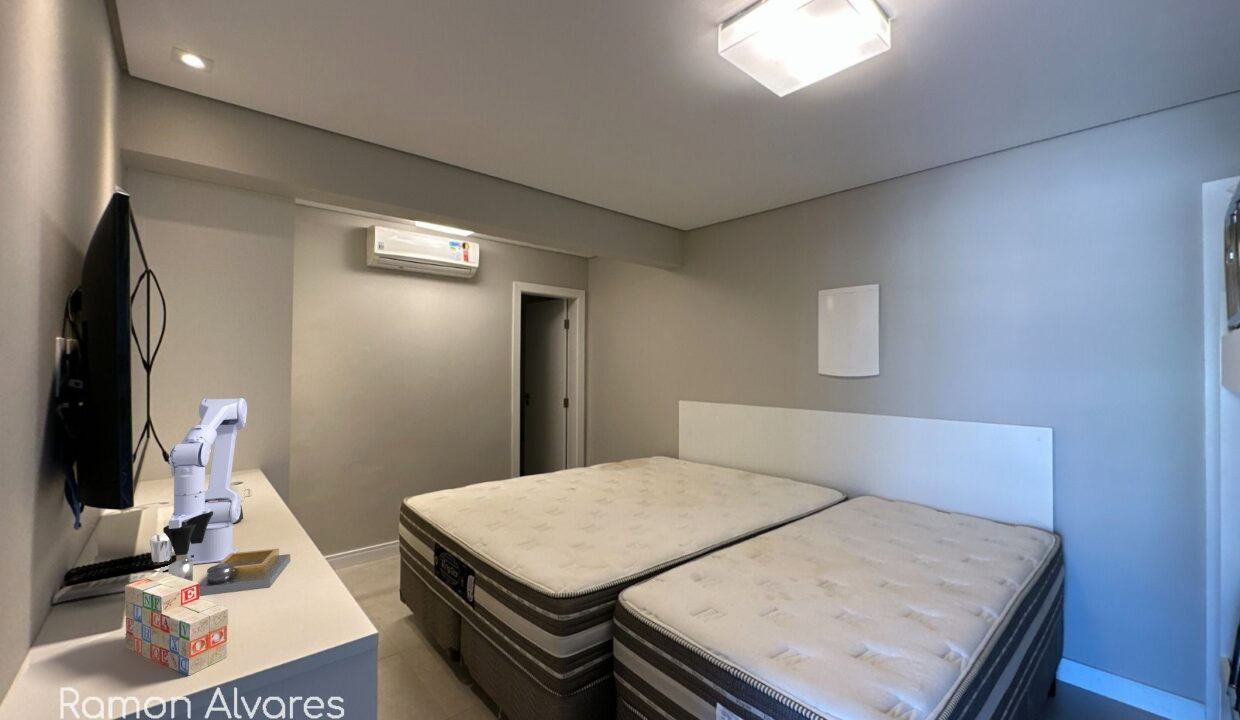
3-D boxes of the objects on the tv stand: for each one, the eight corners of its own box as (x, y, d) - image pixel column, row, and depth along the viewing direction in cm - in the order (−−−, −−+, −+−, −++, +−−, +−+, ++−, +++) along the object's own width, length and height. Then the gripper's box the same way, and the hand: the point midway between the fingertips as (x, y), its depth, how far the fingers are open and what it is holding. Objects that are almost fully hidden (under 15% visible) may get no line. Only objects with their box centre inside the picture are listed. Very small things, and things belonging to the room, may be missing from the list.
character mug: (252, 516, 171) (252, 479, 171) (251, 522, 166) (251, 483, 166) (211, 522, 165) (211, 483, 165) (209, 528, 159) (209, 488, 159)
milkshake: (145, 575, 125) (145, 536, 125) (153, 567, 130) (153, 529, 130) (169, 572, 128) (169, 533, 127) (176, 564, 132) (176, 526, 132)
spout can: (164, 593, 116) (164, 563, 116) (174, 585, 120) (174, 556, 120) (187, 591, 117) (187, 561, 117) (196, 583, 122) (196, 554, 122)
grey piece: (199, 595, 115) (199, 574, 115) (228, 568, 130) (228, 549, 130) (270, 587, 120) (270, 566, 120) (290, 561, 135) (290, 543, 135)
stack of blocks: (228, 657, 92) (228, 591, 92) (188, 677, 86) (188, 607, 86) (164, 631, 100) (165, 571, 100) (124, 648, 95) (124, 584, 95)
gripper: (195, 499, 114) (195, 558, 114) (222, 484, 128) (222, 536, 128) (157, 502, 112) (157, 561, 112) (188, 486, 126) (188, 539, 126)
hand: (189, 548), depth 120 cm, fingers open, 7 cm apart
